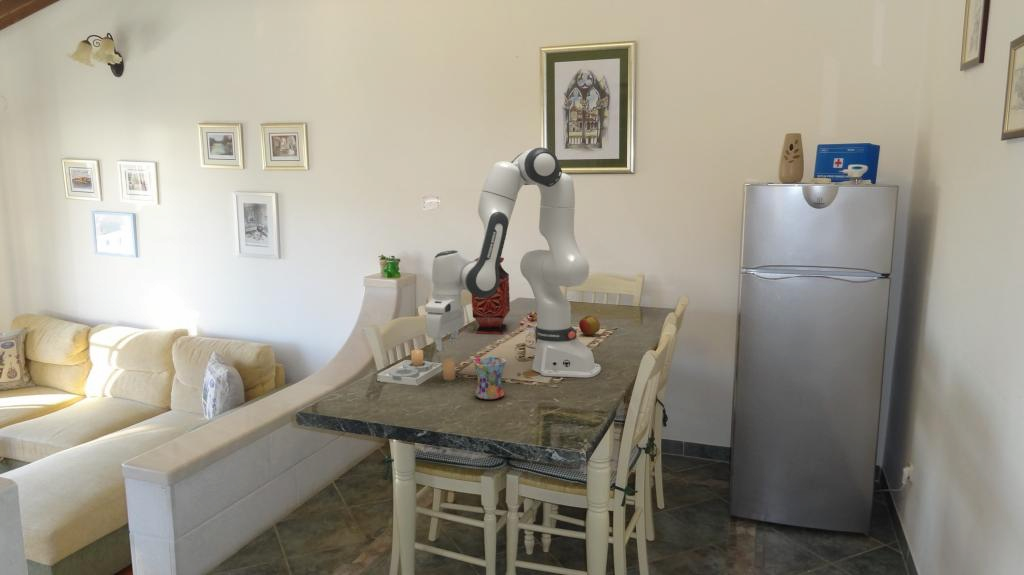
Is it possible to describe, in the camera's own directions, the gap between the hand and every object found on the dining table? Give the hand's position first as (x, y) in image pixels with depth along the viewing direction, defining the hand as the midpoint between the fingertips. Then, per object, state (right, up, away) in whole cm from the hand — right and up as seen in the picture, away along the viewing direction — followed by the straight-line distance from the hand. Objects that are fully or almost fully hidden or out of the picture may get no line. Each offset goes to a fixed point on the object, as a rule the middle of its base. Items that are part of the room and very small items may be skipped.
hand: (446, 346), depth 211 cm
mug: (+14, -13, -15) cm, 24 cm away
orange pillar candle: (+1, -10, +2) cm, 10 cm away
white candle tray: (-12, -10, +5) cm, 16 cm away
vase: (+12, 0, +67) cm, 68 cm away
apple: (+51, -1, +58) cm, 78 cm away
